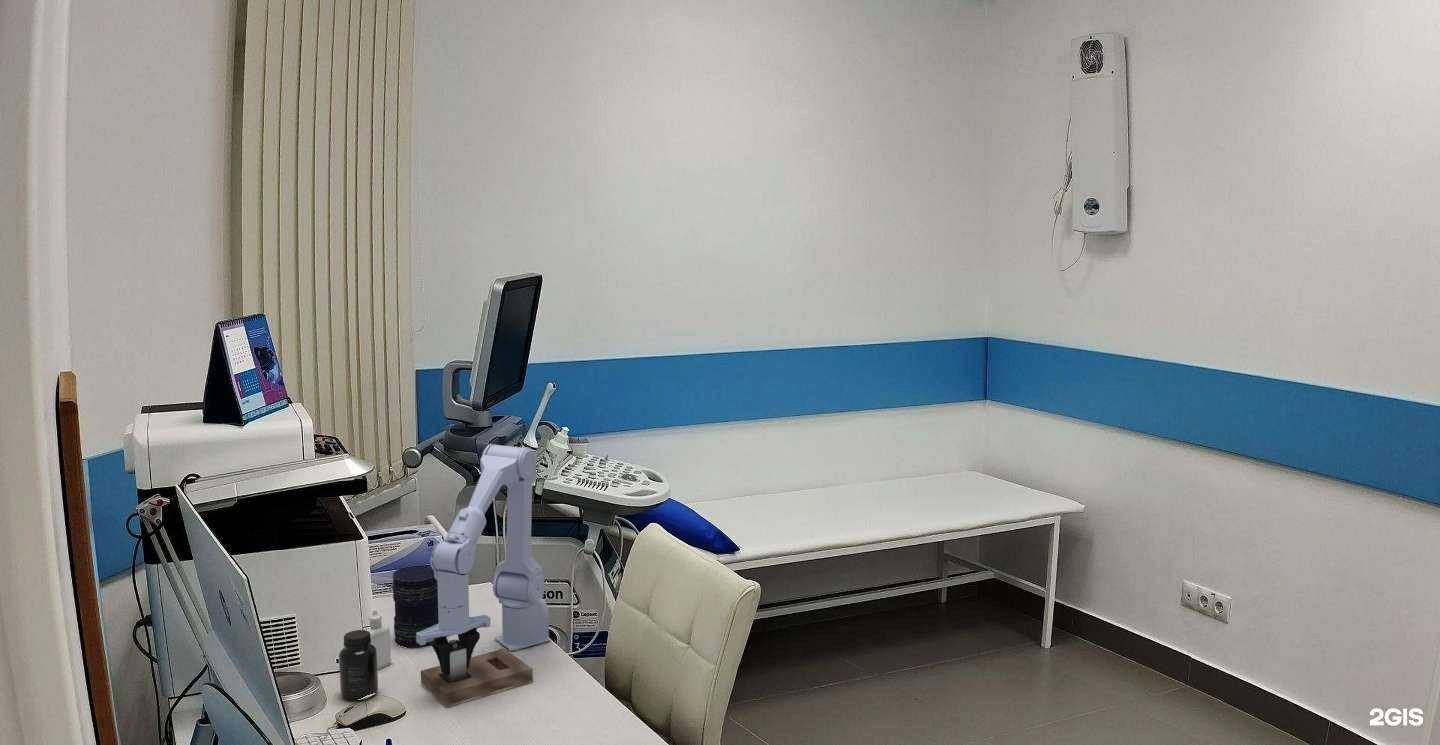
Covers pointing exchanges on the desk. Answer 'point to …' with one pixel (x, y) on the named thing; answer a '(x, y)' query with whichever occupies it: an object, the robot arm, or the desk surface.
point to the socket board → (479, 678)
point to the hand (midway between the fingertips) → (455, 670)
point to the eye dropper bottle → (380, 640)
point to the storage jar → (414, 603)
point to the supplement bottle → (358, 666)
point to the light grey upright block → (456, 663)
